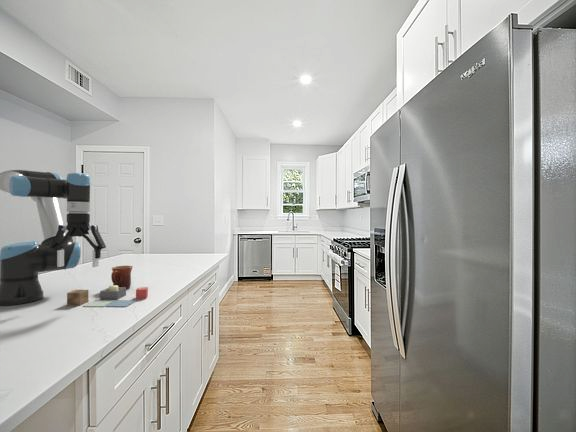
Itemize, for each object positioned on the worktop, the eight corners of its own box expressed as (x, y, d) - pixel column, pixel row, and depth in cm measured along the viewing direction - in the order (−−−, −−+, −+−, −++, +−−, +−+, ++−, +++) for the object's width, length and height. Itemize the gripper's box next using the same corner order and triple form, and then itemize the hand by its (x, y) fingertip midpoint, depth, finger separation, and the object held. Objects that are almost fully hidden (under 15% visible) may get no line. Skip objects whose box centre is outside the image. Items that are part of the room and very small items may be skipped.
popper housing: (100, 299, 125) (100, 291, 125) (109, 295, 132) (109, 287, 132) (117, 299, 125) (117, 291, 125) (125, 295, 132) (126, 287, 132)
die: (135, 299, 127) (135, 288, 127) (137, 296, 131) (137, 286, 130) (146, 298, 128) (146, 288, 128) (147, 296, 132) (147, 286, 132)
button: (106, 296, 127) (106, 287, 127) (111, 294, 131) (111, 285, 131) (115, 296, 127) (115, 287, 127) (120, 294, 131) (120, 285, 131)
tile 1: (82, 306, 116) (82, 305, 116) (95, 300, 124) (95, 299, 124) (103, 306, 116) (103, 306, 116) (115, 300, 124) (115, 300, 124)
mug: (118, 286, 148) (118, 265, 148) (136, 286, 148) (136, 265, 148) (102, 292, 136) (103, 270, 136) (122, 293, 136) (122, 270, 136)
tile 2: (105, 306, 116) (105, 306, 116) (116, 300, 124) (116, 300, 124) (126, 307, 116) (126, 306, 116) (136, 300, 124) (136, 300, 124)
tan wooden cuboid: (66, 305, 117) (67, 292, 117) (75, 302, 122) (75, 289, 122) (80, 305, 117) (80, 292, 117) (88, 302, 122) (88, 289, 122)
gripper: (38, 212, 115) (38, 268, 115) (104, 213, 116) (104, 268, 116) (53, 212, 123) (53, 264, 123) (115, 213, 123) (115, 265, 124)
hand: (78, 266), depth 120 cm, fingers open, 13 cm apart
